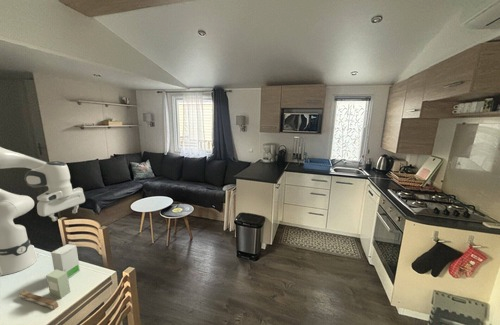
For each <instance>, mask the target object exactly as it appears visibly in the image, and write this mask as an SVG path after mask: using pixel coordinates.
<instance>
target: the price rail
mask: <svg viewBox="0 0 500 325" xmlns="http://www.w3.org/2000/svg"><path fill="white" fill-rule="evenodd" d="M19 297H20V299H23V300H26V301H28V302H30V303H34V304H37V305H40V306H43V307H45V308H48V309H51V310H53V311H54V310H56V309H57V308H58V307H59V304H58V303H59V302H58V301H55V300H52V299H49V298H46V297H44V296H40V295H37V294H34V293H31V292H28V291H26V290H23V291H21V292H19Z"/></svg>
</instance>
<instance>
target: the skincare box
mask: <svg viewBox="0 0 500 325" xmlns="http://www.w3.org/2000/svg"><path fill="white" fill-rule="evenodd" d="M50 254H51V260H52V264H53V265H52V266H53V271H54V270H56V269H57V270H60V271H64V272H67V275H68V279H70V278H71V277H73V276H74V275H76V274H77V273H79V272H80V271H81V268H80V261H79V256H78V255H79V254H78V248H77V245H75V244H70V243H69V244H68V243H67V244H65V245H63V246H61V247H59V248H57V249H55V250H53V251H51V252H50Z"/></svg>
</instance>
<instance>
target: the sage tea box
mask: <svg viewBox="0 0 500 325" xmlns="http://www.w3.org/2000/svg"><path fill="white" fill-rule="evenodd" d="M46 281H47V285H48V290H49V295H50V296H51V297H54V298H58V299H64V297H66V296H67V295H68V294H70V293H71V286H70V283H69V278H68V275H67V272H64V271H60V270H57V269H56V270H54V269H53V271H51V272H49V273H48V274H46Z"/></svg>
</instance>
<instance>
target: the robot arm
mask: <svg viewBox="0 0 500 325" xmlns="http://www.w3.org/2000/svg"><path fill="white" fill-rule="evenodd" d="M12 168H26V169H30V170H28V171H27V172H25V174H24V181H25V183H26V184H27V186H29V187H31V188H34V189H35V188H42V187H48V190H46V191H44V192H43V193H41V194H40V195H38V196H36V199H37V201H38V202H37V204H36V210H37V211H36V212H37V214H38V215H39V216H40V217H47V216H48V217H49V218H51V221H52V222H56V221H58V219H59V218H58V216H55V214H56V213H59V212H61V211H64V210H67V209H70V208H73V209H72V210H71V211H72V212H71V213H72V214H76V213H78V209H79V207H80V205H81V204H84V203H85V202H86V196H85V194H84V190H83V188H82V187H79V186H78V187H76V188H73V186H72V185H73V184H72V183H71V174H70V170H69V167H68V165H67V163H65V162H63V161H59V160H58V161H49V162H48V161H45V160H43V159H41V158H38V157H34V156H32V155H27V154H25V153H20V152H17V151H13V150H11V149H6V148H4V147H2V146H0V170H1V169H12ZM34 207H35V200H34V199H33V198H32V197H30V196H28V195H24V194H21V195H20V194H17V193H12V192H9V191H7V190H4V189H2V188H0V277H2V276H5V275H10V274H15V273H19V272H21V271H23V270H25V269H27V268H29V267H31V266H32V265H33V264H35V263H36V262H37V259H38V258H39V257H40V256H41V254H40V253H37V252H36V249H35V246H34V245H33V244H31V240H30V238H28V233H27V229H26V227H25V226H24V225H22V224H15V222H14V219H16V218H19V217H20V216H23V215H25V214H27V213H28V212H30V211H31V210H32V209H33V208H34Z"/></svg>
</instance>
